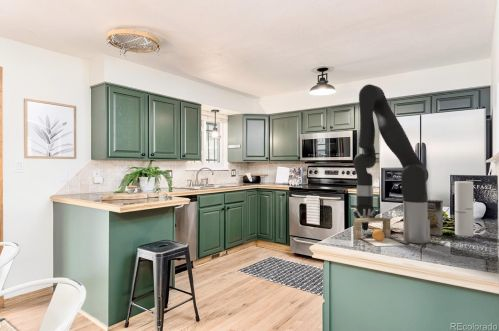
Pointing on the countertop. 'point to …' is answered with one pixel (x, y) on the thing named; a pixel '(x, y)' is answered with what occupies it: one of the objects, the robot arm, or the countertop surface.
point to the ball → (378, 235)
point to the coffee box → (435, 216)
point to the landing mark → (384, 242)
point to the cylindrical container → (464, 208)
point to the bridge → (358, 221)
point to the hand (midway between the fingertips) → (364, 230)
